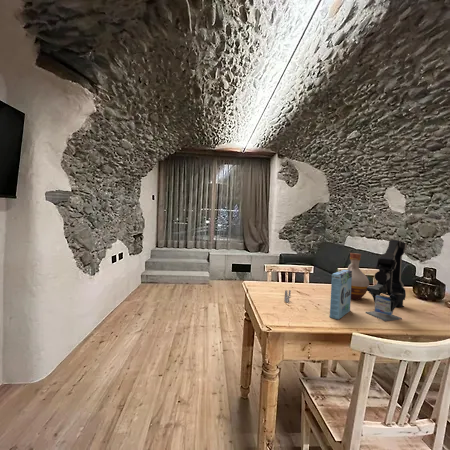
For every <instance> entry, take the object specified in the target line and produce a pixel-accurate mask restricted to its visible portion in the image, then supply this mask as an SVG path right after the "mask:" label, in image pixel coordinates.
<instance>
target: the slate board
mask: <svg viewBox="0 0 450 450" xmlns="http://www.w3.org/2000/svg"><path fill="white" fill-rule="evenodd" d="M365 314H367V315H370V316H371V317H374V318H377V319H379V320H381V321H384V322H390V321H399V319H401V320H402V319H403V318H402V317H400V316H397V315H394V314H392V315H388V314H384V313H379V312H375V310H373V311H365Z"/></svg>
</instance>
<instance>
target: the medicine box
mask: <svg viewBox="0 0 450 450" xmlns="http://www.w3.org/2000/svg"><path fill="white" fill-rule="evenodd" d="M390 299H391V298H390V296H388V295H382V294H380V295H376V299H375V302H374V311H375V312H379V313H384V314H388V315H394V310H393V311H391V301H390Z"/></svg>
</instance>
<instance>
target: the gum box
mask: <svg viewBox="0 0 450 450" xmlns="http://www.w3.org/2000/svg"><path fill="white" fill-rule="evenodd" d="M351 282H352V271H349V270H347V269H342V270H340V271H336V272H334V273H331V283H330V284H331V285H330V286H331V287H330V289H331V290H330V303H329V305H330V306H329V307H330V308H329V318H331V319H335V320H340V319H342V317H344V316H345V315H347V314H348V313H349V312H351V304H352V303H351V301H352V299H351Z"/></svg>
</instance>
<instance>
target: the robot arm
mask: <svg viewBox="0 0 450 450" xmlns="http://www.w3.org/2000/svg"><path fill="white" fill-rule="evenodd" d="M407 249H408V245H407V243H406V242H404V241H401V240H399V239H390V240H389V242H388V247H387V249H386V250H385V253H382V254H381V255H380V256H379V258H378V259H377V264H376V266H375V268H376V270H378V271H377V272H375V274H374V279H375V281H377V282H376V284H373V285H369V286H368V287H367V292H368V293H369V294H370V295H371V296H372V299H373V302H374V303H375V299H376V295H382V294H383V295H384V296H387V297H390V298H391V299H390V301H391V311H393V312H394V310H395V309H396V308H403V307H405V306H404V301H406V297H407V296H406V294H407V293H406V289H405V287H404V286H405V285H404V283H403V281H402V277H401V276H402V260H403V255H405V253H406V250H407Z"/></svg>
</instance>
